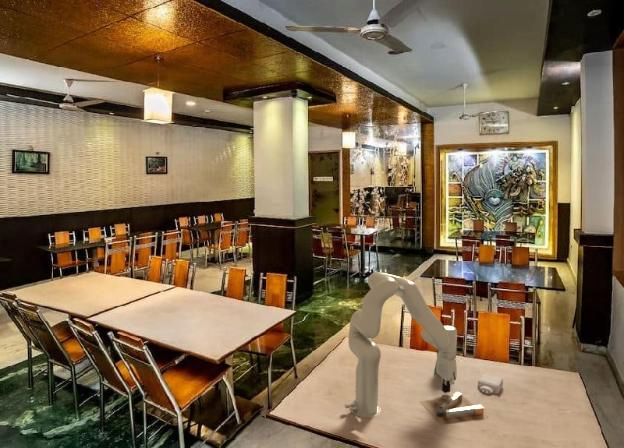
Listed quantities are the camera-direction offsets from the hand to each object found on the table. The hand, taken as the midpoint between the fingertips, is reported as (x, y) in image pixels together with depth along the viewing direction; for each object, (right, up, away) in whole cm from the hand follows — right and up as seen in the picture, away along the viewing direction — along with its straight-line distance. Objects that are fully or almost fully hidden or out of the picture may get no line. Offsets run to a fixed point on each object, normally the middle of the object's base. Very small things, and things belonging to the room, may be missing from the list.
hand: (446, 391), depth 190 cm
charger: (+22, -2, +6) cm, 23 cm away
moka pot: (+6, 0, +22) cm, 23 cm away
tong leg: (-2, -2, -11) cm, 12 cm away
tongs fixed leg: (+2, -3, -17) cm, 18 cm away
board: (-1, -4, -12) cm, 13 cm away
